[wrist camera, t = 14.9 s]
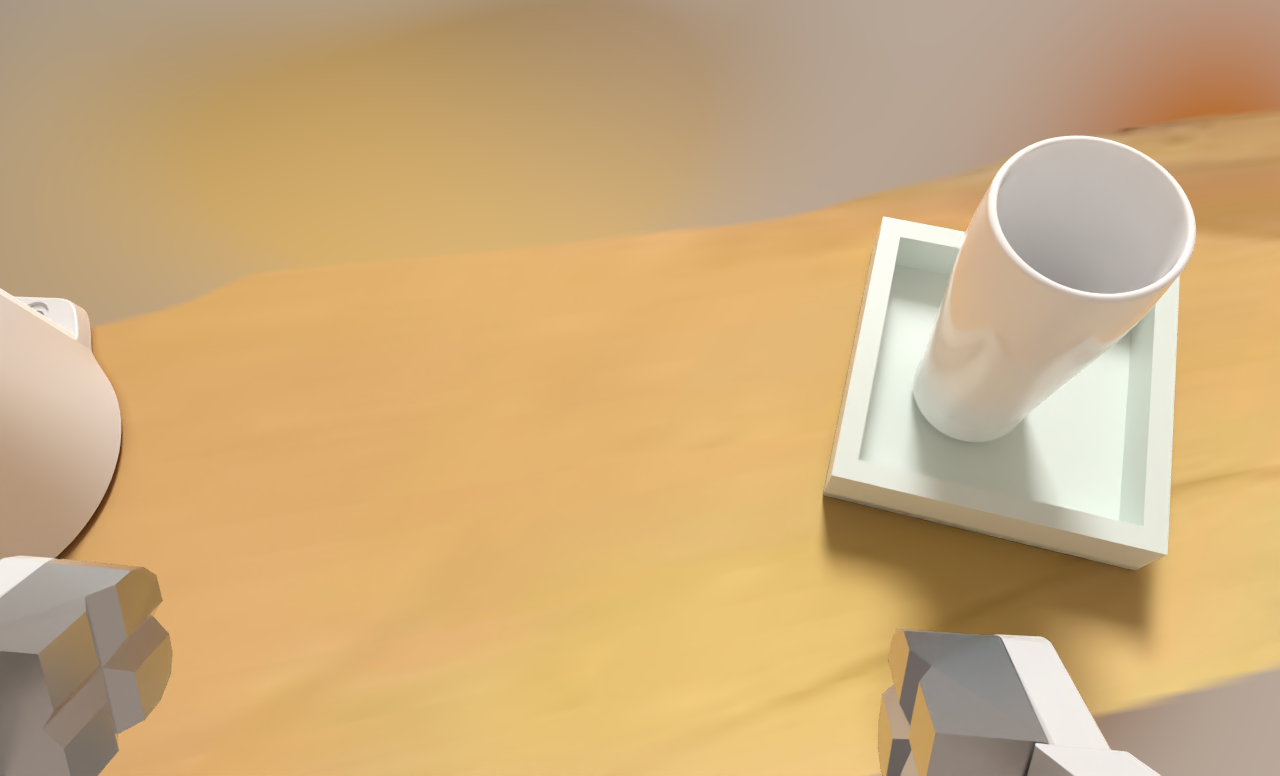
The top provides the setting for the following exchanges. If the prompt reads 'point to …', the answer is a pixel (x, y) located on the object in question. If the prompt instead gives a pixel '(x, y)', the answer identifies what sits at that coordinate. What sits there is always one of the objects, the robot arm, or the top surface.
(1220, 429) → the top surface
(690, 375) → the top surface
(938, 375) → the white tall cup
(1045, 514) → the tray
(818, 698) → the top surface
